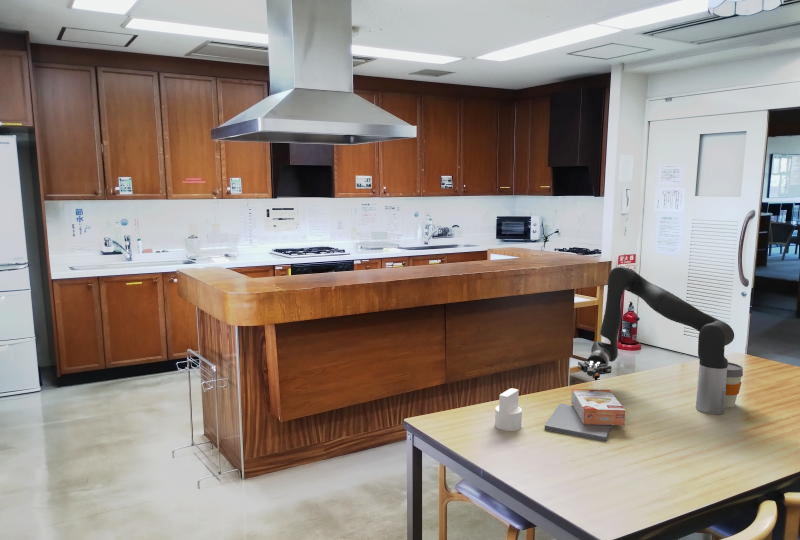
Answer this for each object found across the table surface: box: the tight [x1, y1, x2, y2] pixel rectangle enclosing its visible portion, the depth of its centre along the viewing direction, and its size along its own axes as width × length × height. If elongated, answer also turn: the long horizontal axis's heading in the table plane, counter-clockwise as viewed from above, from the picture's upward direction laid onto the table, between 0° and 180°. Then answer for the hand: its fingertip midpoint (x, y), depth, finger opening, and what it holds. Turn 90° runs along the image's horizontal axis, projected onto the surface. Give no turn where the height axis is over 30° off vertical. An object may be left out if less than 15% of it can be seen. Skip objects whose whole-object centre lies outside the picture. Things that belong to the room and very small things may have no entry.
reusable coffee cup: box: [724, 361, 744, 408], centre depth 226 cm, size 12×13×15 cm
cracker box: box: [570, 388, 626, 426], centre depth 211 cm, size 14×6×21 cm
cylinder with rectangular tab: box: [494, 387, 523, 432], centre depth 203 cm, size 9×9×12 cm
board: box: [544, 402, 613, 442], centre depth 206 cm, size 20×24×2 cm
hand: (590, 373), depth 217 cm, fingers closed
